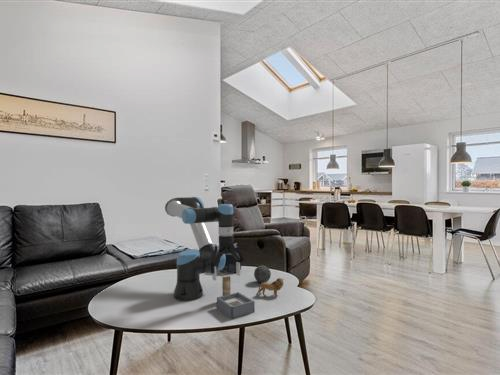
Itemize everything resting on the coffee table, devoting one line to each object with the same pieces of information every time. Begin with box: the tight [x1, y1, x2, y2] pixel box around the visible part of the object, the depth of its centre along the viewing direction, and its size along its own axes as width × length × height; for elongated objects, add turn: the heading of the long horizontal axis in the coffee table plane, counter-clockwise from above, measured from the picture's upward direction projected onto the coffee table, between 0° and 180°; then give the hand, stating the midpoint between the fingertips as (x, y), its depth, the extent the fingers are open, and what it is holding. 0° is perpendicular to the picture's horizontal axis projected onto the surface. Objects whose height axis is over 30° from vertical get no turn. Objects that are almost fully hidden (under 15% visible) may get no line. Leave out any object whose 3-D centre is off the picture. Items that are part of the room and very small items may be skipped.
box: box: [216, 291, 256, 320], centre depth 137 cm, size 14×12×5 cm
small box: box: [219, 252, 242, 273], centre depth 200 cm, size 13×7×12 cm, turn 74°
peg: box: [221, 275, 232, 296], centre depth 148 cm, size 4×4×12 cm
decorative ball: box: [253, 265, 272, 284], centre depth 176 cm, size 10×10×10 cm
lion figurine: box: [255, 277, 284, 297], centre depth 155 cm, size 15×5×9 cm, turn 93°
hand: (226, 277), depth 147 cm, fingers open, 13 cm apart
